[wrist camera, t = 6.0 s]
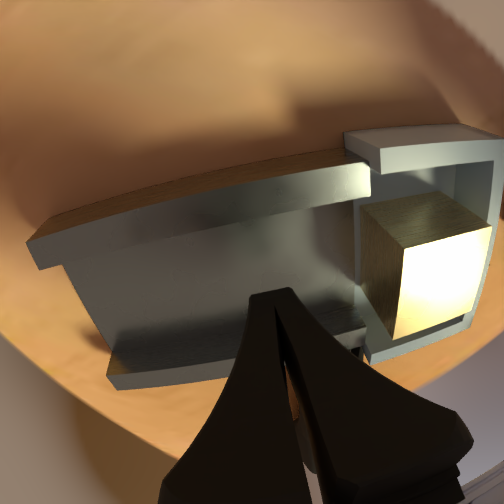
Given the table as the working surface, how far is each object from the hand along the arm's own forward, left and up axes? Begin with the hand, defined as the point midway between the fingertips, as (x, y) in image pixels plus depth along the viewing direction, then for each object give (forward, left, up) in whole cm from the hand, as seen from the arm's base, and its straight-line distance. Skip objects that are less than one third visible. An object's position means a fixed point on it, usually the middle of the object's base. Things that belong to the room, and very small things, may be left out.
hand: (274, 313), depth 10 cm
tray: (-7, 0, -3) cm, 8 cm away
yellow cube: (-6, 0, -3) cm, 7 cm away
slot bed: (+2, 0, -3) cm, 4 cm away
